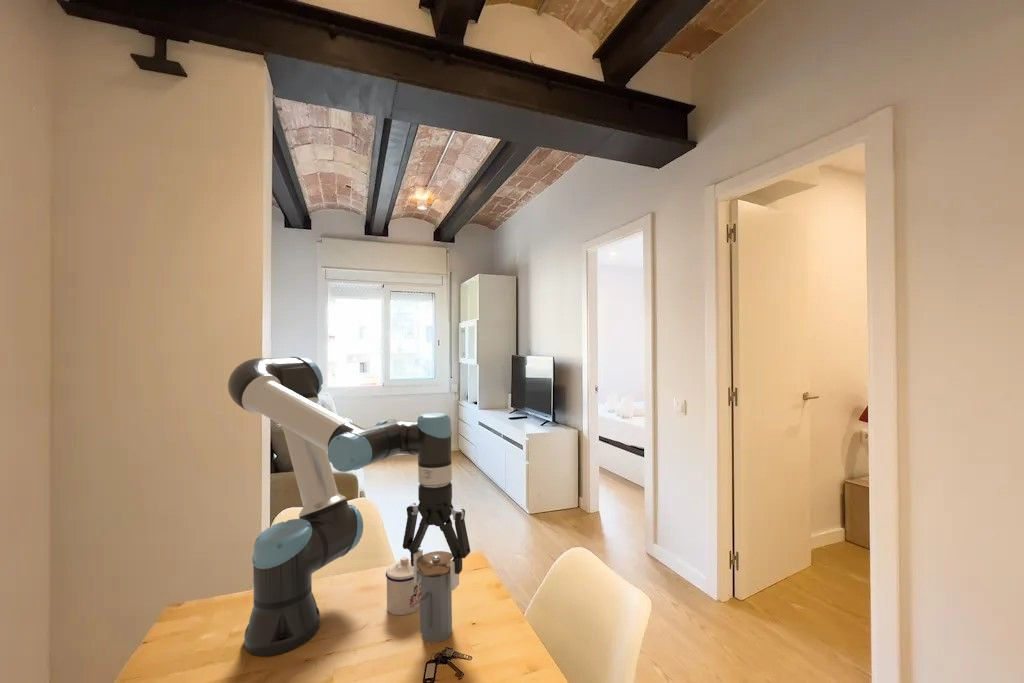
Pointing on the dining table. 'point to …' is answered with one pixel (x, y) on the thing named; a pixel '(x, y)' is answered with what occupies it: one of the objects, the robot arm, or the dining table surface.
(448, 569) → the plunger
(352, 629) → the dining table surface
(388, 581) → the teacup with lid
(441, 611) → the cylinder
